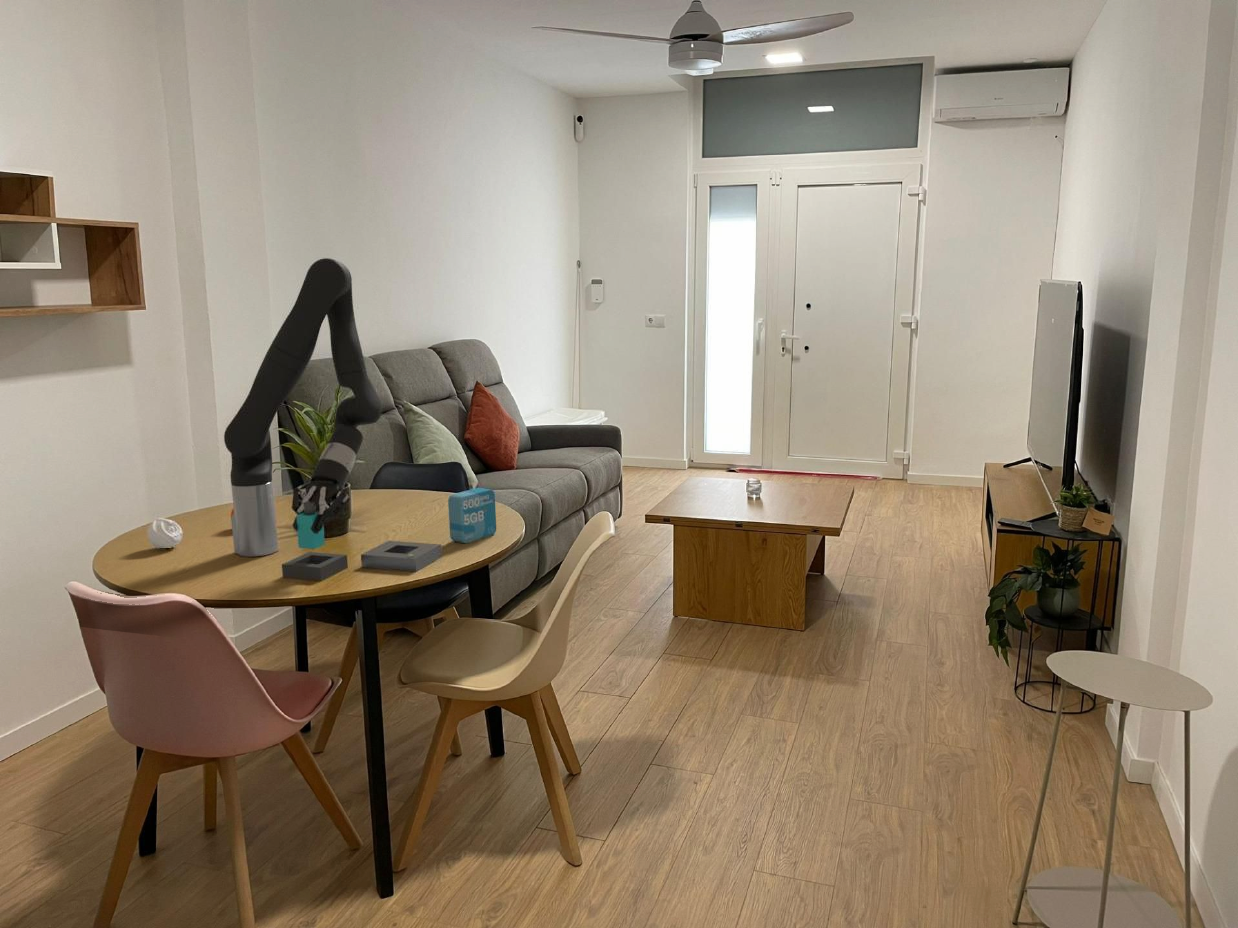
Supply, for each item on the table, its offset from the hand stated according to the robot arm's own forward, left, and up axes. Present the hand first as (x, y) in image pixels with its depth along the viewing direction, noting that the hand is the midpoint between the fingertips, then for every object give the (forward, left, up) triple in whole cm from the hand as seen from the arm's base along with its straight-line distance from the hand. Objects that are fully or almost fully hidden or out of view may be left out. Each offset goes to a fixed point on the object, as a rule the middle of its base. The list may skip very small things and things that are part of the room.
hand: (305, 530), depth 206 cm
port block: (+15, +14, -10) cm, 23 cm away
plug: (0, +2, -4) cm, 5 cm away
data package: (+22, +37, -11) cm, 44 cm away
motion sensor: (-49, +10, -10) cm, 51 cm away
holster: (0, +2, -10) cm, 10 cm away
